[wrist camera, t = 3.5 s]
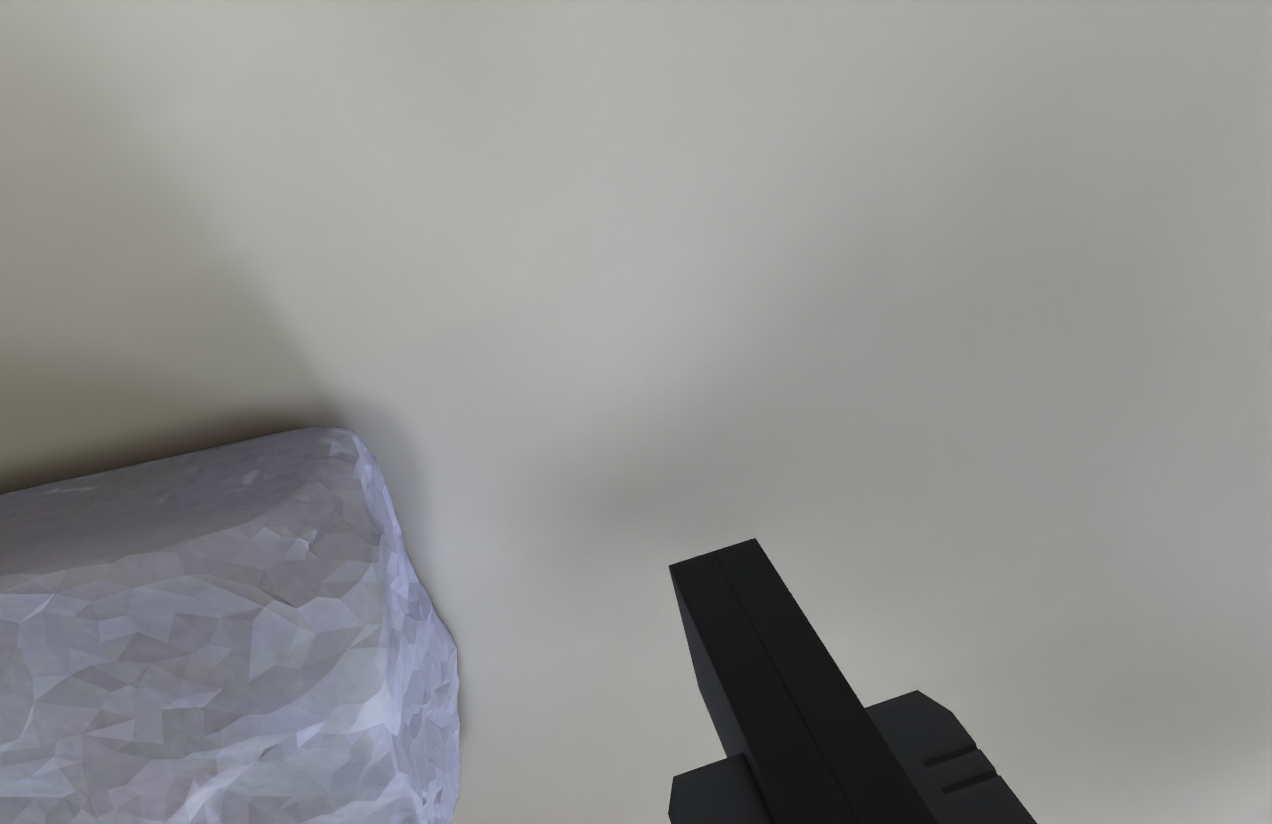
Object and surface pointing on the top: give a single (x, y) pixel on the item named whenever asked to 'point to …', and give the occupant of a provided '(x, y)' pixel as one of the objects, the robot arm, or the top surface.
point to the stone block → (222, 645)
